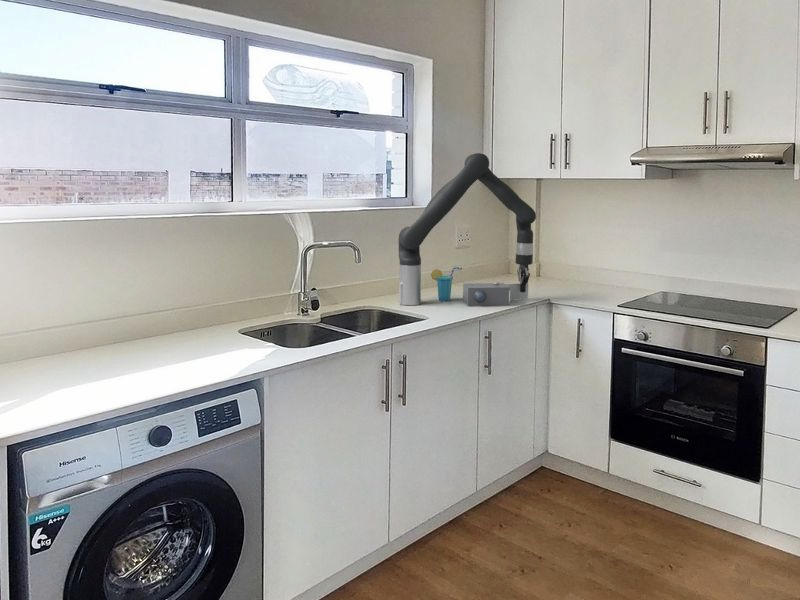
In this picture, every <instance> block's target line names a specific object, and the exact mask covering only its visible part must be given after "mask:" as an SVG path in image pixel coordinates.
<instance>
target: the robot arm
mask: <svg viewBox="0 0 800 600" xmlns="http://www.w3.org/2000/svg"><path fill="white" fill-rule="evenodd" d="M489 167H490V160H489V157H488V156H487V155H486V154H484V153H482V152H481V153H480V152H477V153H472V154H469V155H468V156H467V157H466V158H465V160H464V167H463V168H462V169H461V170H460V171H459V172H458V174H457V175H456V176H455V177H453V178H451V180H449V181H448V182H447V183H446V184H445V185H443V186H442V187H441V188H440V189H439V190H438V191H437V192H436V193H435V195H434V196H433V197H432V198H431V199H430V201H429V202H428V204H427V205H426V206H425V208H424V210H423V212H422V214H421V215H420V216H419V218H418V219H416V221H415V222H414V223H412V224H411V225H410V226H405V227H404V228H402V229H401V230H400V231H399V234H398V259H399V282H398V303H399V305H402V306H418V305H421V304H422V296H421V295H422V292H421V291H422V288H421V287H422V285H421V284H422V258H421V253H420V252H421V251H420V250H421V249H420V245H422V243H423V242H424V241H425V239H426V238H427V236H428V235H429V234H430V232H431V231H432V230H433V229H434V228H435V226H437V224H439V222H441V221H442V220H443V219H444V218H445V216H447V215H448V213H450V211H452V209H453V208H454V207H455V206H456V205H457V204H458V202H459V201H460V200H461V199H462V197H464V195H465V194H466V193H467V191H468V190H469V188H470V187H471V186H472V185H473V184H475V182H477V181H479V182H480V183H481V184H482V185H484V186H485V187H487V189H488V190H489V191H490V192H491V193H492V195H494V196H495V197H496V198H497V200H499V201H500V202H501V203H502V204H503V206H505V208H507V209H508V210H509V211H512V213H514V214H515V225H516V232H517V234H516V245H515V261H514V262H515V264H517V265H519V266H518V269H517V279H518V282H519V283H521V284H520V292H526V284H527V283H528V284H529V279H530V276H531V273H530V268H529V265H532V264H534V232H533V230H532V224H533V223H534V222H535V221H536V220H537V214H536V211H535V210H534V209H533V207H532V206H530V205H529V204H528V203H527V202H525V201H524V199H522V198H521V197H520V196H519V195H518V193H516V192H515V191H514V190H513V189H512V188H511V187H510V186H509V184H507V183H506V182H504V181H503V180H501V179H500V178H499V177H498V176H497V175H496V174H494V173H493V172H492V171H491V169H490V168H489Z"/></svg>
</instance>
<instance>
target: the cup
mask: <svg viewBox="0 0 800 600" xmlns="http://www.w3.org/2000/svg"><path fill="white" fill-rule="evenodd" d="M455 270H462V267H459V266H454V267H452V270H451V272H450V275H443V273H442V271H441V270H440V269H437V268H436V269H435V268H434V269H433V270H432V271H431V273H430V277H431V278H432V280H435V281H436V282H437V284H436V285H437V295H438V296H437V297H438V302H450V301H451V294H452V284H453V280H454V276H453V275H454V271H455Z"/></svg>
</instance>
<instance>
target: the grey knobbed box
mask: <svg viewBox="0 0 800 600" xmlns="http://www.w3.org/2000/svg"><path fill="white" fill-rule="evenodd" d="M506 284H507V283H504V282H498V281H494V282H483V283H482V282H480V283H479V282H475V283H473V282H472V283H471V282H469V283H468V282H467V283H462V302H463V303H464V304H465V305H466V306H467V307H493V306H494V307H503V306H504V307H505V306H507V307H508V306H510V303H511V300H510V287H509V286H507V285H506Z"/></svg>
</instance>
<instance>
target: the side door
mask: <svg viewBox="0 0 800 600" xmlns="http://www.w3.org/2000/svg"><path fill="white" fill-rule="evenodd" d="M505 284H506V285H507V286H509V287H510V301H511V300H525V299H526V300H527V299H528V298H529V282H528V283H527V284H526V292H520V284H521V283H520V282H518V283H505Z"/></svg>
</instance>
